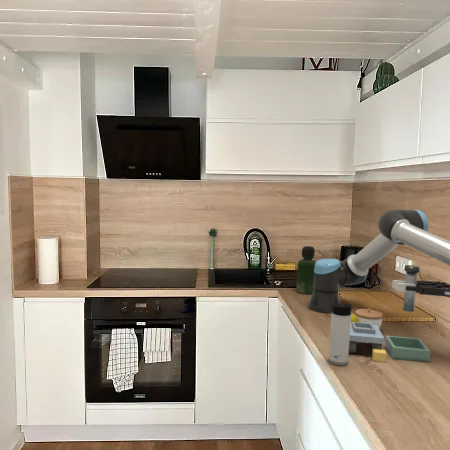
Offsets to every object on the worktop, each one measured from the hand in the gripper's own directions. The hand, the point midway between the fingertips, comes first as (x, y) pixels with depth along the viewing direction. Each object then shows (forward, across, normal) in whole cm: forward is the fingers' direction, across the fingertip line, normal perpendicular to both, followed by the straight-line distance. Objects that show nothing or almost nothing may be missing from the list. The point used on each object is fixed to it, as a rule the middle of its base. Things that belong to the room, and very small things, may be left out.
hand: (394, 285), depth 150 cm
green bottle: (+28, +78, -24) cm, 86 cm away
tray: (-6, 0, -24) cm, 25 cm away
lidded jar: (+4, +21, -24) cm, 33 cm away
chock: (+5, -8, -24) cm, 26 cm away
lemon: (+11, +18, -24) cm, 32 cm away
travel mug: (+19, -13, -24) cm, 34 cm away
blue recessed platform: (+9, +1, -24) cm, 26 cm away
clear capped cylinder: (-5, 0, -8) cm, 10 cm away
